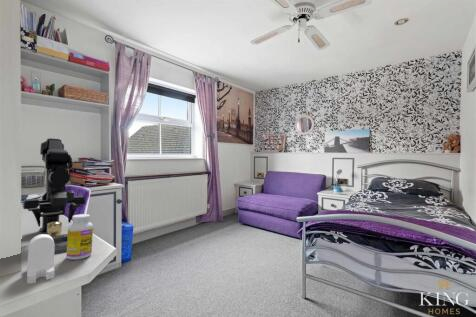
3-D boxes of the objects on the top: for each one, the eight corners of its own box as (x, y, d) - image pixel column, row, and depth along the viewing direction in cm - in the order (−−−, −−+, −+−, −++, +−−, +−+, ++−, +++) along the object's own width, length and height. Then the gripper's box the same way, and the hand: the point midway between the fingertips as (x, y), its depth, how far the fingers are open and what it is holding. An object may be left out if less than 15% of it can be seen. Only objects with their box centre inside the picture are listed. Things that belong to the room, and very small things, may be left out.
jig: (40, 243, 85) (40, 238, 85) (70, 238, 92) (70, 233, 92) (47, 254, 76) (47, 248, 76) (80, 248, 82) (80, 242, 82)
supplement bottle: (79, 261, 71) (81, 218, 72) (60, 259, 73) (62, 217, 73) (96, 253, 78) (98, 214, 78) (79, 251, 79) (81, 212, 79)
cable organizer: (51, 265, 69) (53, 230, 69) (54, 278, 61) (56, 238, 62) (27, 270, 65) (28, 233, 65) (27, 284, 58) (29, 242, 58)
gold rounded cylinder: (45, 238, 91) (46, 222, 91) (60, 236, 95) (60, 220, 95) (47, 241, 88) (48, 224, 88) (62, 238, 91) (63, 223, 92)
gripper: (26, 186, 80) (24, 233, 79) (90, 184, 93) (88, 224, 93) (23, 184, 87) (21, 226, 87) (82, 182, 101) (80, 219, 100)
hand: (54, 224), depth 92 cm, fingers open, 9 cm apart
